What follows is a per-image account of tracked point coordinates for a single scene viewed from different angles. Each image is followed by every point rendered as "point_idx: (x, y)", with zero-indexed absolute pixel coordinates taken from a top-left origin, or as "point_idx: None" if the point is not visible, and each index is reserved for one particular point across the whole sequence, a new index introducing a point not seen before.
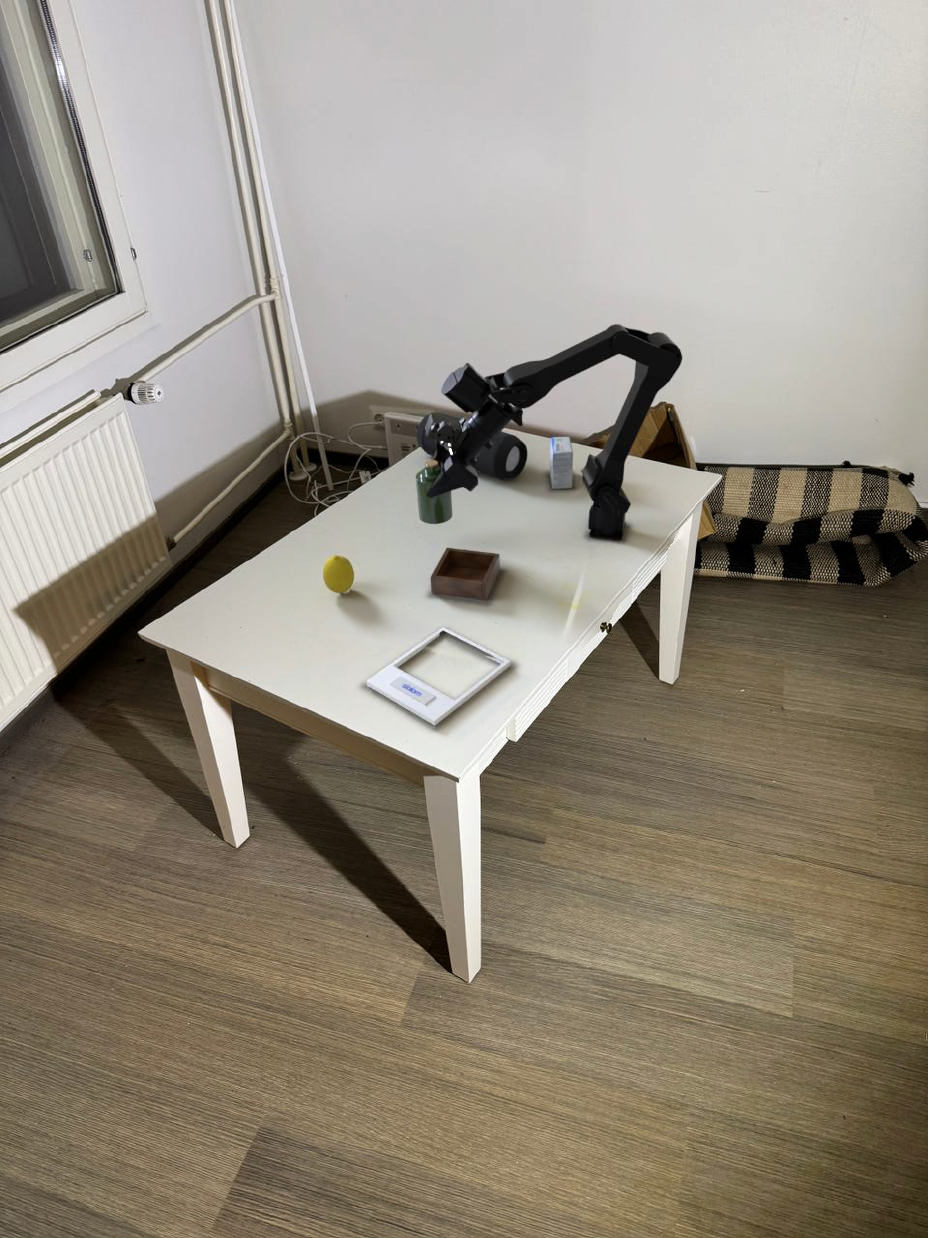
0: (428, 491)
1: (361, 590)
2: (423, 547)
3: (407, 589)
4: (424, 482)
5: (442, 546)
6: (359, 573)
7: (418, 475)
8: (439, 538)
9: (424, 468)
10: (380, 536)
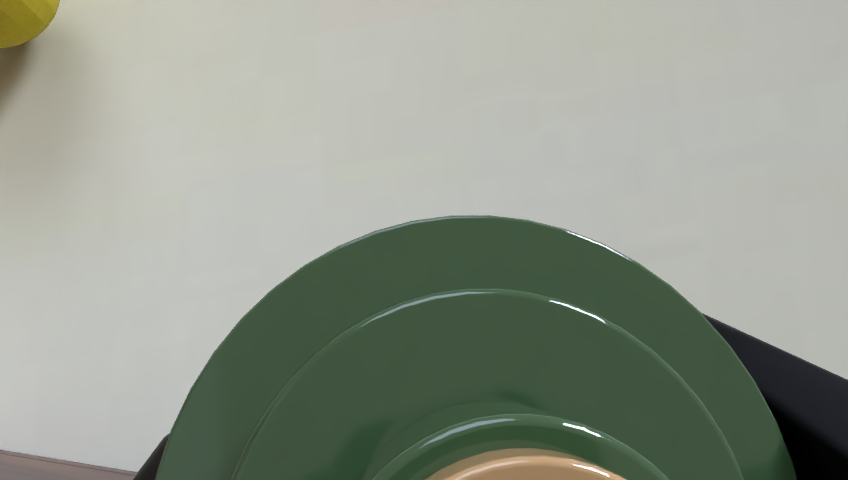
0: (148, 474)
1: (48, 103)
2: None
3: (40, 311)
4: (198, 412)
5: None
6: (189, 70)
7: (466, 260)
8: None
9: (627, 353)
10: (514, 105)
